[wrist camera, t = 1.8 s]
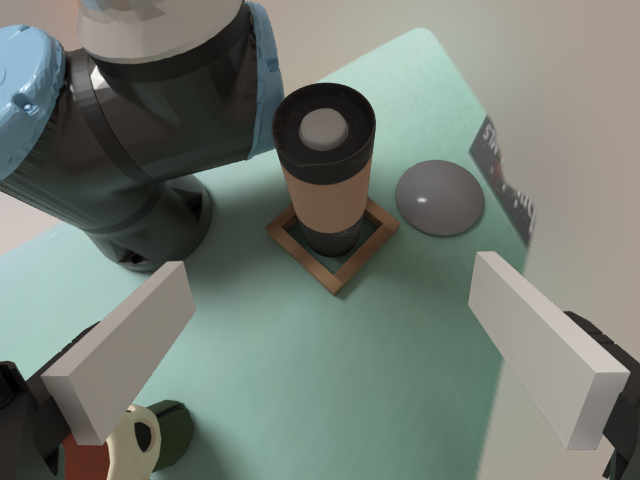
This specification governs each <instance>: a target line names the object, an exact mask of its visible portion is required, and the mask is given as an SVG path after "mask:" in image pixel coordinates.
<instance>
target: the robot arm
mask: <svg viewBox="0 0 640 480" xmlns="http://www.w3.org/2000/svg"><path fill="white" fill-rule="evenodd" d="M77 1H78V14H77V22H76V37H77V39H78V41H79V43H80V45H81V46H82V49H79V50H74V51H70V52H68V51H64V49H63V46H62V45H61V43H60V42H59V41H58V40H57V39H56V38H55V37H51V36H50V35H48V34H47V33H46V32H45V31H43V30H42V29H39V28H36V27H30V26H27V25H13V26H8V27H4V28H1V29H0V191H1V192H4V193H6V194H8V195H10V196H12V197H14V198H16V199H18V200H20V201H23V202H25V203H27V204H29V205H31V206H33V207H35V208H37V209H39V210H41V211H44V212H46V213H48V214H50V215H52V216H54V217H56V218H58V219H60V220H62V221H64V222H67V223H69V224H71V225H73V226H75V227H77V228H79V229H81V230H83V231H84V232H85V233H86V235H87V236H88V237H89V238H90V239H91V240H92V242H93V243H94V244H95V245H96V246H97V248H98V249H99V250H100V251H101V252H102V253H103V254H104V255H105V256H106V257H107V258H108V259H110V260H111V261H113V262H115V263H117V264H119V265H121V266H123V267H126V268H128V269H131V270H135V271H141V272H150V271H156V272H155V273H154V274H153V275H152V276H151V277H149V278H148V279H147V280H146V281H145V282H144V283H143V284H142V285H141V286H139V287H138V288H137V289H136V290H135V291H134V292H133V293H132V294H131V295H130V296H128V297H127V298H126V299H125V300H124V301H123V302H122V303H121V304H120V305H118V306H117V307H116V308H115V309H114V310H113V311H112V312H111V313H110V314H108V315H107V316H106V317H105V318H104V319H103V320H102V321H99V322H97V323H95V324H94V325H92V326H90V327H89V328H87V329H85V330H84V331H83V332H81V333H80V334H79V335H78V336H77V337H76V338H75V339H73V340H72V343H69V344H68V345H67V346H65V347H64V348H63V349H62V351H61V352H59V353H57V354H56V355H55V356H54V357H53V358H52V359H51V360H49V361H48V362H47V363H46V364H45V365H44V366H43V367H41V368H40V369H39V370H38V371H37V372H36V373H35V374H33V375H32V376H31V377H30V378H29V379H28V380H27V381H25V380H24V378H23V377H22V375H21V373H20V371H19V370H18V368H17V366H16V365H15V363H14V362H10V361H2V362H0V480H65V450H64V447H63V445H62V444H61V443H62V441H63V440H64V439H65V438H66V437H67V435H68V434H69V433H70V432H71V433H72V435H73V437H74V438H75V440H76V442H77V444H78V445H103V444H104V442H105V441H106V440H107V438H108V437H109V435H110V434H111V432H112V431H113V429H114V428H115V427H116V425H117V424H118V422H119V421H120V419H121V418H122V416H123V415H124V414H125V412H126V411H127V409H128V408H129V406H130V405H131V404H132V402H133V401H134V399H135V398H136V396H137V395H138V393H139V392H140V391H141V389H142V388H143V386H144V385H145V383H146V382H147V380H148V379H149V378H150V376H151V375H152V373H153V372H154V370H155V369H156V368H157V366H158V365H159V363H160V362H161V360H162V359H163V357H164V356H165V355H166V353H167V352H168V350H169V349H170V347H171V346H172V344H173V343H174V342H175V340H176V339H177V337H178V336H179V334H180V333H181V332H182V330H183V329H184V327H185V326H186V324H187V323H188V321H189V320H190V319H191V317H192V316H193V314H194V313H195V311H196V309H195V305H194V301H193V297H192V293H191V289H190V286H189V282H188V278H187V274H186V270H185V266H184V262H183V261H182V260H183V259H184V258H186V257H187V256H188V255H190V254H191V253H192V252H193V251H194V250H195V249H196V248H197V246H198V245H199V244H200V243H201V241H202V240H203V238H204V236H205V235H206V233H207V230H208V228H209V225H210V221H211V215H212V207H211V201H210V197H209V195H208V193H207V191H206V190H205V188H204V187H203V186H202V184H201V183H200V182H199V181H198V179H197V178H196V177H195V176H194V175H192V174H194V173H198V172H201V171H205V170H209V169H213V168H216V167H220V166H224V165H228V164H231V163H235V162H239V161H243V160H249V159H251V158H253V156H256V155H259V154H261V153H264V152H267V151H270V150H273V149H275V148H276V147H275V144H274V141H273V137H272V129H271V128H272V119H273V116H274V113H275V111H276V109H277V107H278V106H279V104H280V103H281V102H282V101H283V100H284V99H285V96H284V88H283V82H282V76H281V72H280V69H279V67H278V66H279V62H278V56H277V48H276V43H275V39H274V34H273V31H272V27H271V23H270V20H269V17H268V15H267V12H266V10H265V8H264V7H263V6H261V5H260V4H259V3H253V2H251V1H249V2H248V1H247V2H245V0H77ZM468 306H469V307H470V309H471V310H472V312H473V313H474V315H475V316H476V318H477V319H478V321H479V322H480V323H481V325H482V326H483V328H484V329H485V331H486V332H487V334H488V335H489V337H490V338H491V340H492V341H493V343H494V344H495V346H496V347H497V349H498V350H499V351H500V353H501V354H502V356H503V357H504V359H505V360H506V362H507V363H508V365H509V366H510V367H511V369H512V370H513V372H514V373H515V375H516V376H517V378H518V379H519V381H520V382H521V384H522V385H523V387H524V388H525V390H526V391H527V393H528V394H529V396H530V397H531V399H532V400H533V401H534V403H535V405H536V406H537V407H538V409H539V410H540V412H541V413H542V415H543V416H544V418H545V419H546V421H547V422H548V424H549V425H550V426H551V428H552V430H553V431H554V433H555V434H556V435H557V437H558V438H559V440H560V441H561V443H562V444H563V446H564V447H565V449H568V450H570V449H571V450H572V449H573V450H596V449H597V447H598V444H599V442H600V440H601V438H602V435H603V434H604V436H605V437H606V438H607V439H608V440H609V441H610V443H611V444H612V445H613V446H614V447H615V450H614V452H613V454H612V456H611V458H610V460H609V463H608V465H607V467H606V469H605V471H604V473H603V475H602V476H603V477H605V478H607V479H608V478H609V476H610V480H640V363H639V362H637V361H636V360H635V359H634V358H633V357H631V356H630V355H629V354H628V353H627V352H625V351H624V350H623V349H622V348H621V347H619V346H618V345H617V344H614V342H613V341H612V340H611V339H610V338H608V337H607V336H606V335H603V334H602V332H601V331H600V330H599V329H598V328H597V327H595V326H594V325H593V324H592V323H591V322H589V321H587V320H586V319H584V318H582V317H580V316H578V315H577V314H575V313H573V312H571V311H565V312H562V311H561V310H560V309H559V308H558V307H556V305H554V304H553V303H552V302H551V301H550V300H549V299H547V297H545V296H544V295H543V294H542V293H541V292H540V291H539V290H538V289H536V288H535V287H534V286H533V285H532V284H531V283H530V282H529V281H527V280H526V279H525V278H524V277H523V276H522V275H521V274H520V273H518V272H517V271H516V270H515V269H514V268H513V267H512V266H511V265H509V264H508V263H507V262H506V261H505V260H504V259H503V258H502V257H500V256H499V255H498V254H497V253H496V252H495V251H485V252H476V257H475V263H474V269H473V276H472V282H471V289H470V295H469V302H468Z"/></svg>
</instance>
